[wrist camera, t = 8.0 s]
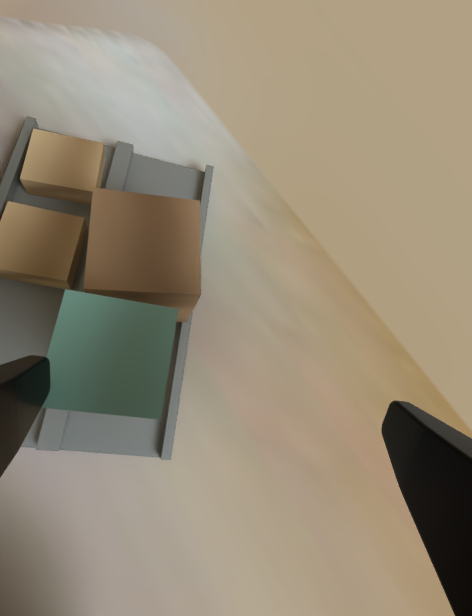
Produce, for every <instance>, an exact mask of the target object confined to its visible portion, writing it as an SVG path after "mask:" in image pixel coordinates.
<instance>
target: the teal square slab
mask: <svg viewBox="0 0 472 616" xmlns="http://www.w3.org/2000/svg"><path fill="white" fill-rule="evenodd" d="M178 310H179V309H177V308H171V307H165V306H159V305H153V304H148V303H142V302H136V301H130V300H125V299H119V298H113V297H107V296H102V295H96V294H90V293H84V292H79V291H73V290H67V289H65V292H64V296H63V300H62V303H61V307H60V310H59V314H58V317H57V321H56V325H55V328H54V332H53V335H52V339H51V343H50V346H49V350H48V353H47V358H48V359H49V361H50V384H51V385H50V391H49V394H48V396H47V398H46V400H45V402H44V404H43V406H42V408H51V409H60V410H70V411H80V412H90V413H99V414H109V415H119V416H129V417H139V418H148V419H158V420H161V416H162V409H163V403H164V397H165V391H166V384H167V378H168V372H169V366H170V359H171V353H172V347H173V341H174V334H175V328H176V322H177V316H178Z"/></svg>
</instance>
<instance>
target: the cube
mask: <svg viewBox="0 0 472 616" xmlns="http://www.w3.org/2000/svg"><path fill="white" fill-rule="evenodd" d="M83 289H84V291H85V293H90V294H96V295H102V296H107V297H113V298H119V299H125V300H130V301H136V302H142V303H148V304H153V305H159V306H165V307H171V308H177V309H179V310H178V316H177V322H187V321H188V319H189V317H190V315H191V313H192V311H193V309H194V307H195V305H196V303H197V301H198V299H199V297H200V295H201V259H200V201H199V200H191V199H182V198H174V197H166V196H158V195H150V194H142V193H134V192H125V191H117V190H109V189H101V188H93V195H92V205H91V215H90V225H89V236H88V246H87V256H86V267H85V277H84V287H83Z"/></svg>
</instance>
